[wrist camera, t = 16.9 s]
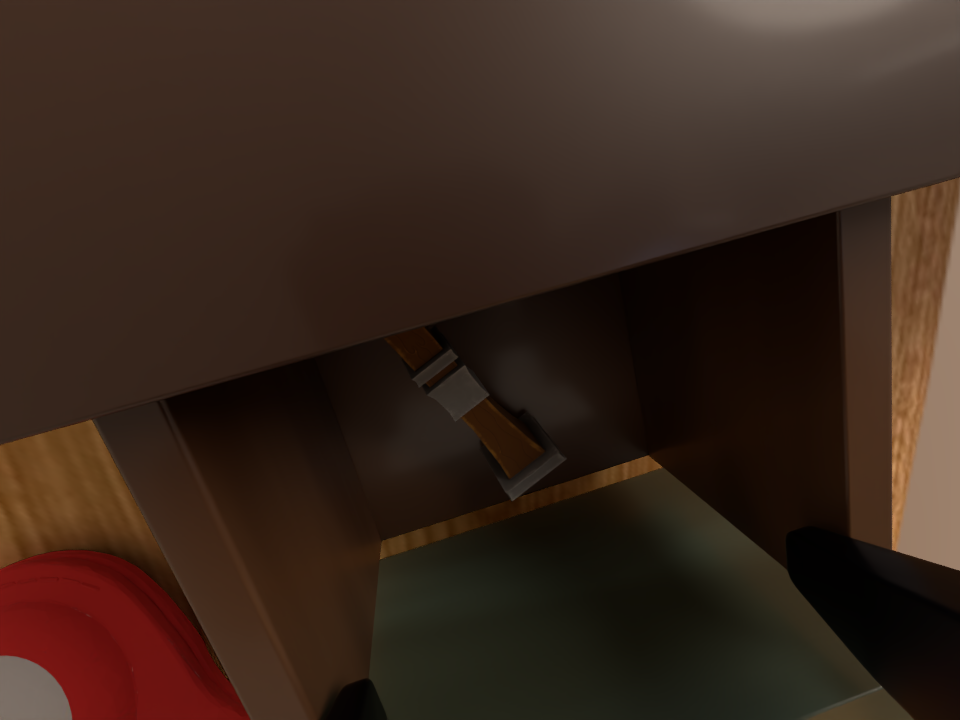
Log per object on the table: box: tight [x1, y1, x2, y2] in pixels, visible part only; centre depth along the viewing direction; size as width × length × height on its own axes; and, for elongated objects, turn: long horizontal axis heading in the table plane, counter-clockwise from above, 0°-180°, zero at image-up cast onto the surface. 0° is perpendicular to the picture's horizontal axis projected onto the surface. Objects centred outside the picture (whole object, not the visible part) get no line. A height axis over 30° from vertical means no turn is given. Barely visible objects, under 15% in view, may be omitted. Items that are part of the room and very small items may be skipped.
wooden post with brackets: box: [384, 326, 567, 501], centre depth 10 cm, size 2×8×4 cm, turn 37°
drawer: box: [92, 197, 914, 720], centre depth 10 cm, size 20×11×8 cm, turn 15°
